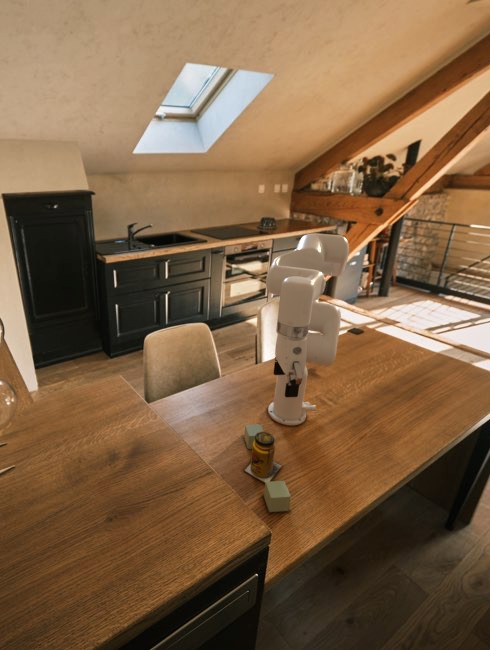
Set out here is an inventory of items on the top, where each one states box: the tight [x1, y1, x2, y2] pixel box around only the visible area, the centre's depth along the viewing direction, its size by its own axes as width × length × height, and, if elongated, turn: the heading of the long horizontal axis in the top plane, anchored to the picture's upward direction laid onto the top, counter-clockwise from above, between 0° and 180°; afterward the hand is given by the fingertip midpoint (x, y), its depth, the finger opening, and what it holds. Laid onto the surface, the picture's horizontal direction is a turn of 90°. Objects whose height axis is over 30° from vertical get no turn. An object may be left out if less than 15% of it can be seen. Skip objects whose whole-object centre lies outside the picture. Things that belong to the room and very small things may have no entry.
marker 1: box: [243, 423, 265, 450], centre depth 118 cm, size 5×5×5 cm
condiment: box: [244, 431, 282, 483], centre depth 107 cm, size 7×8×12 cm
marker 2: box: [263, 480, 292, 513], centre depth 98 cm, size 5×5×5 cm
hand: (284, 385), depth 100 cm, fingers open, 9 cm apart
